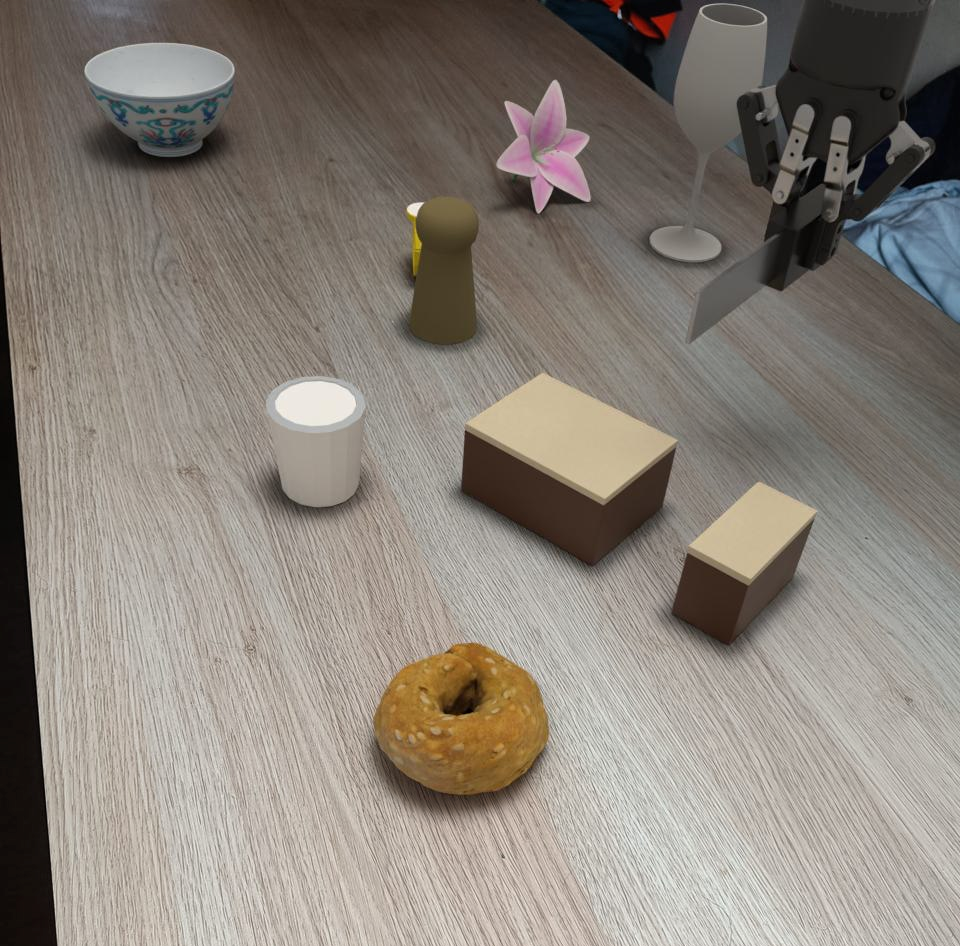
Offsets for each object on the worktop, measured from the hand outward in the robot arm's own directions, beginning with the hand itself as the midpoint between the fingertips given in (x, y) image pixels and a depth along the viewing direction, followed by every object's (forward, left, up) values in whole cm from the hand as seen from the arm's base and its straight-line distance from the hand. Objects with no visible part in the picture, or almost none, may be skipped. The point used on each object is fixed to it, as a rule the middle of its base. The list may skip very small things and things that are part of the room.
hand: (795, 258), depth 78 cm
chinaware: (-2, -73, -15) cm, 74 cm away
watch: (-1, -36, -15) cm, 39 cm away
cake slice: (+17, +9, -15) cm, 25 cm away
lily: (-22, -38, -15) cm, 46 cm away
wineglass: (-24, -21, -15) cm, 35 cm away
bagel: (+39, +3, -15) cm, 42 cm away
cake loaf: (+17, -6, -15) cm, 23 cm away
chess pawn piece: (+5, -28, -15) cm, 32 cm away
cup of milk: (+28, -20, -15) cm, 38 cm away
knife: (+5, 0, -1) cm, 5 cm away
